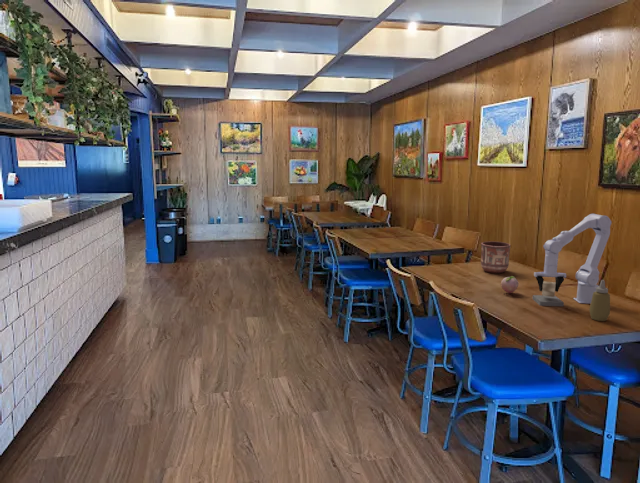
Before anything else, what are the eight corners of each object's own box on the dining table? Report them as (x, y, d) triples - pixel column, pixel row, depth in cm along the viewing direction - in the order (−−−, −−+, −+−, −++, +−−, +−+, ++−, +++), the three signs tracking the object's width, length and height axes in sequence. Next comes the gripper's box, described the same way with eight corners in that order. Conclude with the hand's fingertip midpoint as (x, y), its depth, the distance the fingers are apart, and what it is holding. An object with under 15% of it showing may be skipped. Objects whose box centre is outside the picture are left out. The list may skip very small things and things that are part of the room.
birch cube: (554, 294, 230) (555, 282, 229) (554, 296, 225) (555, 285, 224) (542, 292, 233) (543, 281, 232) (542, 295, 228) (543, 283, 227)
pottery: (473, 269, 298) (475, 242, 295) (493, 267, 305) (495, 240, 302) (493, 276, 282) (496, 247, 279) (514, 273, 290) (517, 245, 286)
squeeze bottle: (601, 316, 210) (606, 277, 206) (613, 322, 202) (618, 282, 199) (584, 316, 209) (588, 278, 206) (595, 322, 201) (599, 282, 198)
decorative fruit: (503, 290, 251) (504, 272, 250) (519, 292, 246) (520, 274, 245) (497, 294, 244) (499, 275, 243) (513, 296, 239) (515, 278, 237)
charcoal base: (554, 300, 235) (555, 295, 234) (563, 307, 224) (563, 302, 223) (532, 299, 236) (532, 295, 235) (539, 306, 225) (540, 301, 225)
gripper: (563, 263, 229) (560, 289, 232) (532, 262, 231) (530, 288, 234) (569, 266, 222) (566, 293, 225) (537, 265, 224) (535, 292, 227)
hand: (548, 291), depth 229 cm, fingers closed on birch cube, 7 cm apart
